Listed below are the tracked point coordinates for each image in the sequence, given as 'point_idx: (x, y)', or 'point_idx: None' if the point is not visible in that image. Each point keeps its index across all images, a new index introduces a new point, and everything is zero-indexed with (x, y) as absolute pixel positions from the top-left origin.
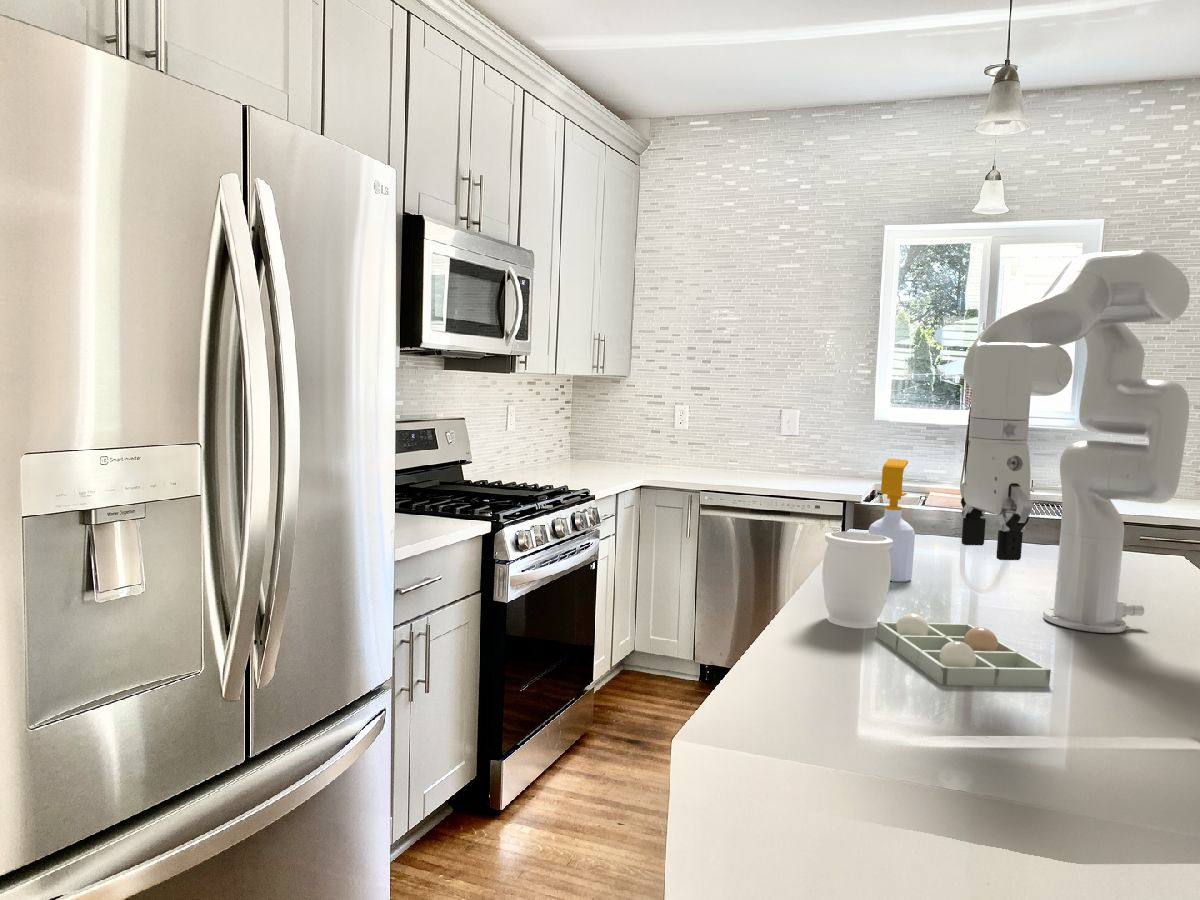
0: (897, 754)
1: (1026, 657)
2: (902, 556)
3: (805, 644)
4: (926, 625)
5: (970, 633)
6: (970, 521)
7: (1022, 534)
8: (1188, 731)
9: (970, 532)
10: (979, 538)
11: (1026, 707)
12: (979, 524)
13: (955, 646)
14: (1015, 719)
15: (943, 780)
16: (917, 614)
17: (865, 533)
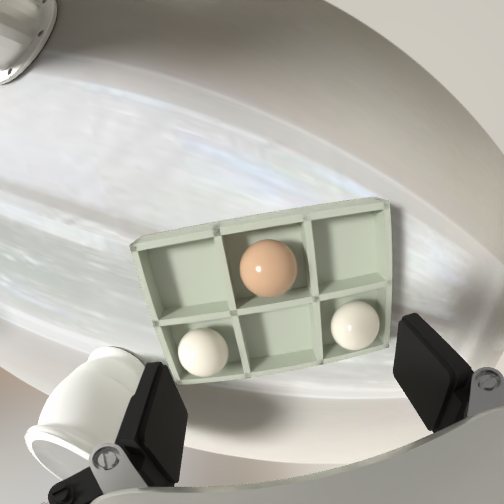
0: (473, 371)
1: (334, 213)
2: None
3: (220, 430)
4: (214, 343)
5: (275, 295)
6: (173, 470)
7: (464, 360)
8: (453, 96)
9: (176, 434)
10: (167, 392)
11: (418, 248)
12: (158, 438)
13: (371, 341)
14: (444, 274)
15: (500, 348)
16: (199, 361)
17: (27, 443)
